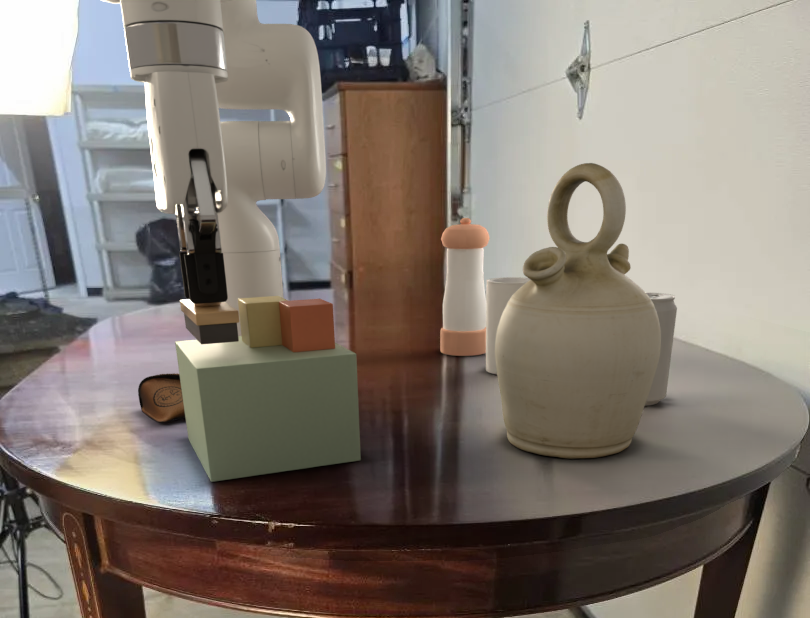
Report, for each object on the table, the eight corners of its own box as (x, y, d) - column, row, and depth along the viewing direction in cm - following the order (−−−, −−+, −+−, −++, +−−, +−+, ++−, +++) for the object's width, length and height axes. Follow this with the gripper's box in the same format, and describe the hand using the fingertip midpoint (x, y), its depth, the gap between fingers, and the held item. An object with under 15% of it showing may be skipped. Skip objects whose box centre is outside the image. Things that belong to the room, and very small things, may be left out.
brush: (183, 328, 73) (170, 231, 70) (221, 325, 75) (210, 229, 71) (199, 345, 65) (185, 235, 61) (241, 341, 66) (230, 234, 63)
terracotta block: (282, 345, 73) (278, 301, 71) (322, 341, 74) (320, 298, 72) (293, 352, 69) (289, 306, 68) (335, 348, 71) (333, 303, 69)
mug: (502, 378, 103) (506, 284, 98) (474, 369, 108) (476, 279, 103) (561, 369, 107) (568, 278, 102) (532, 361, 112) (536, 274, 107)
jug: (546, 475, 68) (567, 160, 58) (465, 430, 81) (469, 166, 71) (683, 451, 74) (724, 159, 63) (586, 413, 86) (607, 165, 76)
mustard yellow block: (241, 341, 75) (237, 298, 73) (282, 337, 76) (278, 295, 75) (250, 348, 72) (246, 303, 70) (292, 344, 73) (289, 300, 71)
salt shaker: (497, 352, 119) (501, 217, 111) (459, 358, 115) (461, 219, 107) (467, 345, 124) (469, 216, 116) (431, 350, 121) (430, 218, 113)
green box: (186, 435, 81) (172, 338, 77) (314, 419, 86) (308, 327, 82) (211, 482, 68) (196, 368, 64) (361, 460, 73) (356, 353, 69)
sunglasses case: (161, 421, 84) (143, 363, 84) (149, 440, 90) (133, 386, 90) (309, 397, 93) (293, 344, 93) (289, 415, 99) (274, 366, 99)
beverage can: (666, 395, 93) (679, 291, 88) (664, 409, 87) (677, 299, 82) (612, 392, 95) (621, 290, 90) (606, 405, 89) (616, 297, 84)
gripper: (121, 71, 67) (153, 293, 74) (136, 38, 53) (174, 315, 61) (209, 74, 69) (231, 288, 77) (245, 44, 55) (268, 308, 63)
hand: (206, 298), depth 69 cm, fingers closed on brush, 2 cm apart
